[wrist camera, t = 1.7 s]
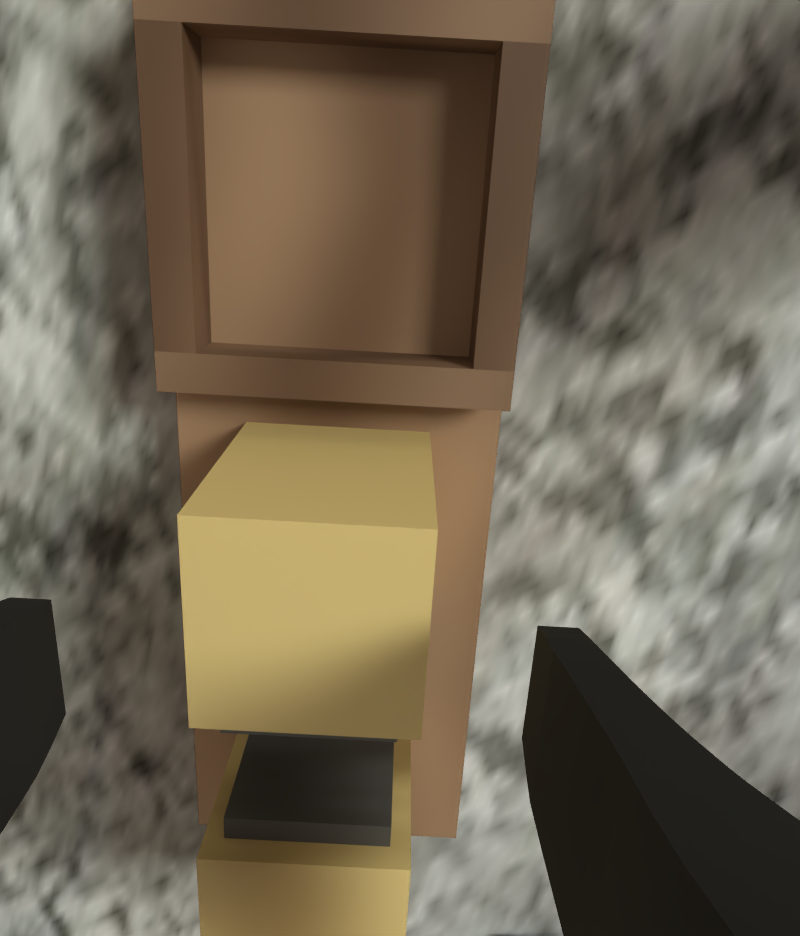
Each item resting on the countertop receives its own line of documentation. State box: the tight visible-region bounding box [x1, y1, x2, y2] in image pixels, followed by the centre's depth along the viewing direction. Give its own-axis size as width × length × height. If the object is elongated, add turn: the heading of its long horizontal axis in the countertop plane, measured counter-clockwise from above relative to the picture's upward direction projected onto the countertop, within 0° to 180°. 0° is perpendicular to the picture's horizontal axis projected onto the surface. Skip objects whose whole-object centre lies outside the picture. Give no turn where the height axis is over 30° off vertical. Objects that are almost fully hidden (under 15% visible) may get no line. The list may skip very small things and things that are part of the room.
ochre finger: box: [177, 422, 438, 742], centre depth 14 cm, size 4×4×5 cm
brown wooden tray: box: [132, 0, 556, 936], centre depth 15 cm, size 7×20×6 cm, turn 177°
